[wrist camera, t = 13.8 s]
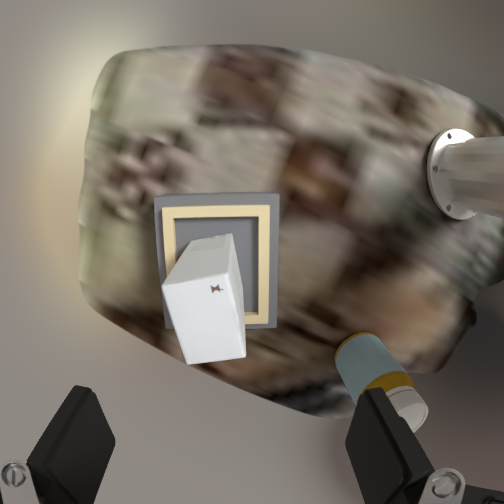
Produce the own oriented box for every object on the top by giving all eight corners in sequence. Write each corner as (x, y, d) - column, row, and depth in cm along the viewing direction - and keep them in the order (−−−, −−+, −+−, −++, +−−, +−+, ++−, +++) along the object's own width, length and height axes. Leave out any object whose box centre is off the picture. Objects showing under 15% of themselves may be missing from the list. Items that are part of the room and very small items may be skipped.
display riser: (274, 192, 31) (280, 194, 27) (272, 311, 35) (277, 331, 30) (163, 194, 31) (151, 197, 26) (172, 312, 34) (164, 332, 29)
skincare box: (189, 240, 28) (158, 282, 16) (232, 231, 28) (230, 270, 16) (202, 297, 29) (185, 367, 18) (244, 290, 30) (249, 358, 18)
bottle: (375, 322, 36) (433, 388, 21) (381, 359, 38) (429, 427, 23) (328, 341, 36) (370, 420, 22) (337, 378, 38) (374, 454, 23)
